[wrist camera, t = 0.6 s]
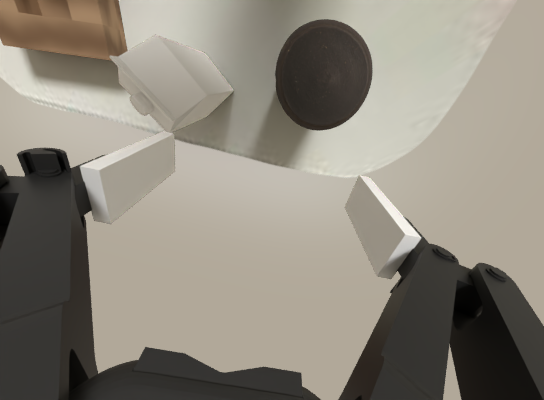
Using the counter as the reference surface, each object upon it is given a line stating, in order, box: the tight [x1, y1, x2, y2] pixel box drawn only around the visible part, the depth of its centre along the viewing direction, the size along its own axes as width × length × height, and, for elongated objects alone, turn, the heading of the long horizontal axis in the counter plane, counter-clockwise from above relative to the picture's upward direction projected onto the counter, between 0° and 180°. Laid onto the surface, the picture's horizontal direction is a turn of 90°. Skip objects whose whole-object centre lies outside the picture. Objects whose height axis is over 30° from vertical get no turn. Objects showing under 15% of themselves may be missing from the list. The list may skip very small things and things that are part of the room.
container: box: [275, 19, 372, 130], centre depth 27 cm, size 9×9×20 cm
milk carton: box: [109, 35, 234, 133], centre depth 29 cm, size 7×7×19 cm
